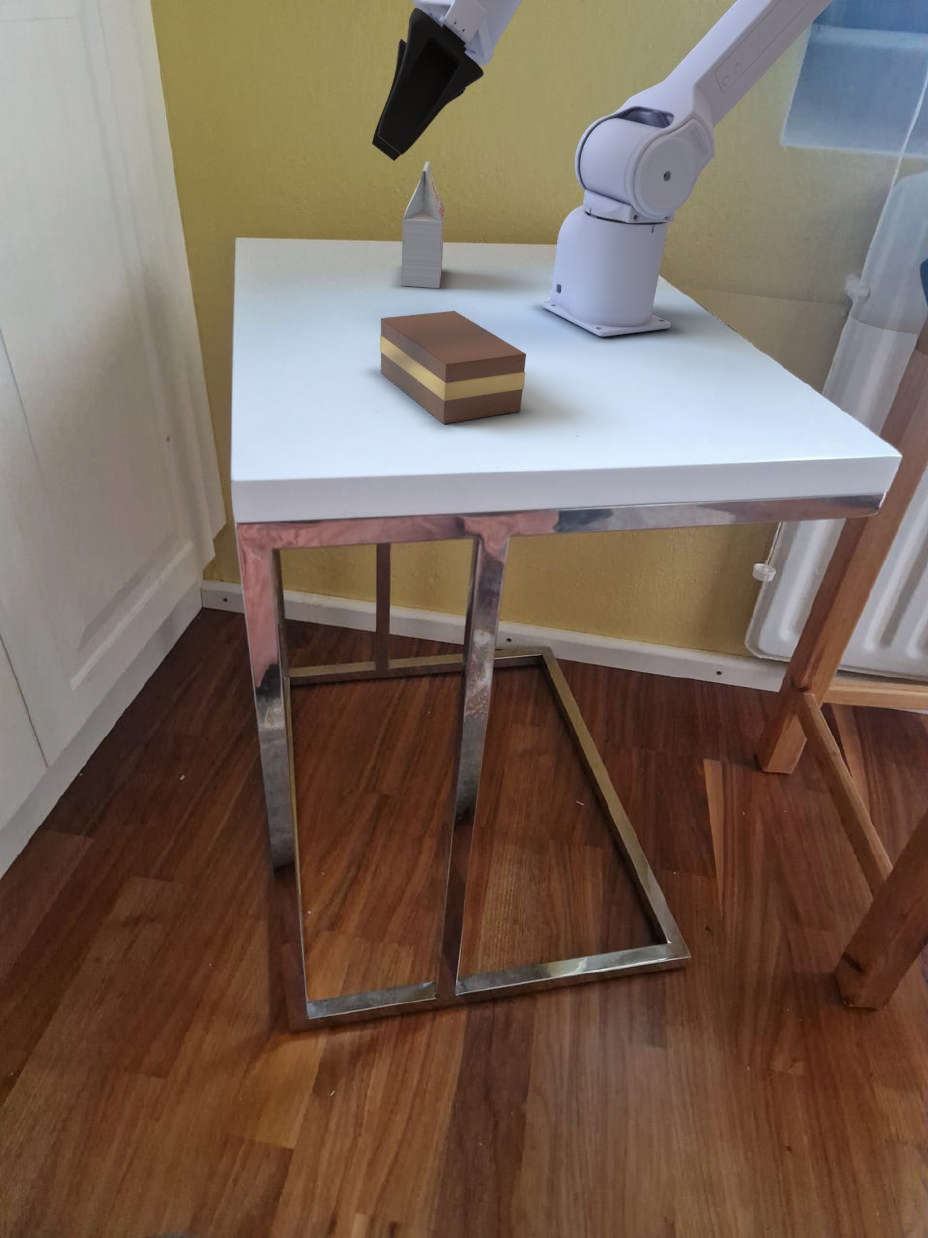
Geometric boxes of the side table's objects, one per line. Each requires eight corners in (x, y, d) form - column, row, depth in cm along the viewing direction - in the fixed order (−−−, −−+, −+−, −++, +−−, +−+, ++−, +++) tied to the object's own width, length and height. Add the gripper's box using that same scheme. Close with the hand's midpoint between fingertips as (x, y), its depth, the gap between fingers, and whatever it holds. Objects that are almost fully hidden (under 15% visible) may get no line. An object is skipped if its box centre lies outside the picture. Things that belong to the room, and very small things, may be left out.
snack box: (379, 372, 61) (379, 317, 59) (452, 363, 64) (454, 310, 61) (443, 424, 54) (446, 364, 52) (521, 411, 57) (527, 353, 54)
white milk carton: (401, 285, 80) (403, 170, 74) (406, 268, 86) (408, 159, 80) (439, 288, 80) (443, 172, 75) (441, 270, 86) (446, 161, 80)
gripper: (433, -56, 60) (337, 120, 64) (462, -127, 48) (339, 98, 51) (509, 14, 63) (412, 179, 67) (556, -36, 50) (432, 172, 54)
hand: (386, 148), depth 59 cm, fingers open, 7 cm apart
